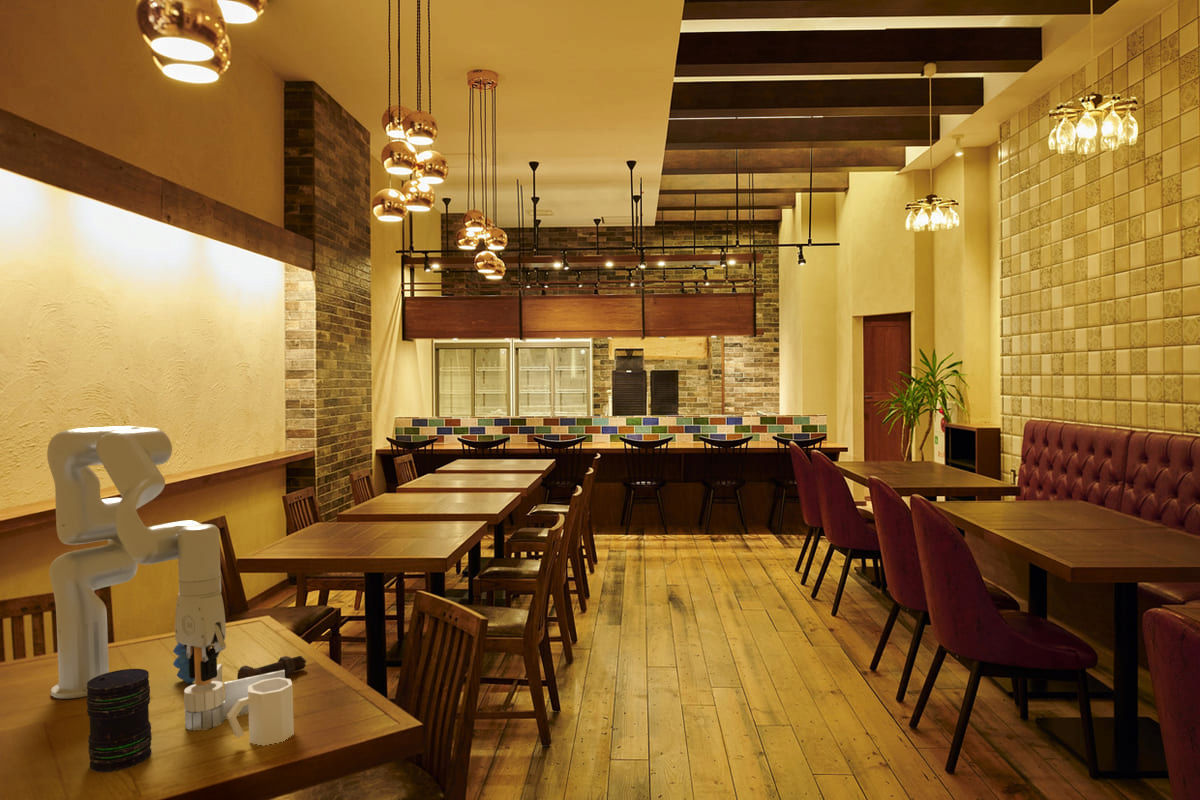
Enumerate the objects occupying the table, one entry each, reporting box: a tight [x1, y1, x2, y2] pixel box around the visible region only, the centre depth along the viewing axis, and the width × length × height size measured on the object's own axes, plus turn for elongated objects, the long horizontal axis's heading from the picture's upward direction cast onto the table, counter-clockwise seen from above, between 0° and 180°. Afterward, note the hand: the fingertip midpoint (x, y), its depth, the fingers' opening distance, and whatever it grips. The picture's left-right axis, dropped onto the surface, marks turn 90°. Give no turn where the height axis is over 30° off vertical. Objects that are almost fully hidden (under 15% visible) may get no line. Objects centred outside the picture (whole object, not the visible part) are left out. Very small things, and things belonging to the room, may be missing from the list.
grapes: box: [172, 641, 195, 685], centre depth 181 cm, size 12×7×12 cm, turn 52°
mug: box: [227, 677, 295, 747], centre depth 150 cm, size 12×9×10 cm
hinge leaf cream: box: [183, 663, 225, 712], centre depth 163 cm, size 17×7×7 cm, turn 14°
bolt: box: [236, 655, 307, 680], centre depth 182 cm, size 6×5×15 cm
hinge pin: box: [194, 647, 212, 685], centre depth 158 cm, size 3×3×9 cm
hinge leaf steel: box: [184, 670, 286, 732], centre depth 161 cm, size 7×19×7 cm, turn 124°
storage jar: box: [86, 668, 153, 773], centre depth 143 cm, size 10×10×15 cm
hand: (203, 676), depth 158 cm, fingers closed on hinge pin, 3 cm apart
